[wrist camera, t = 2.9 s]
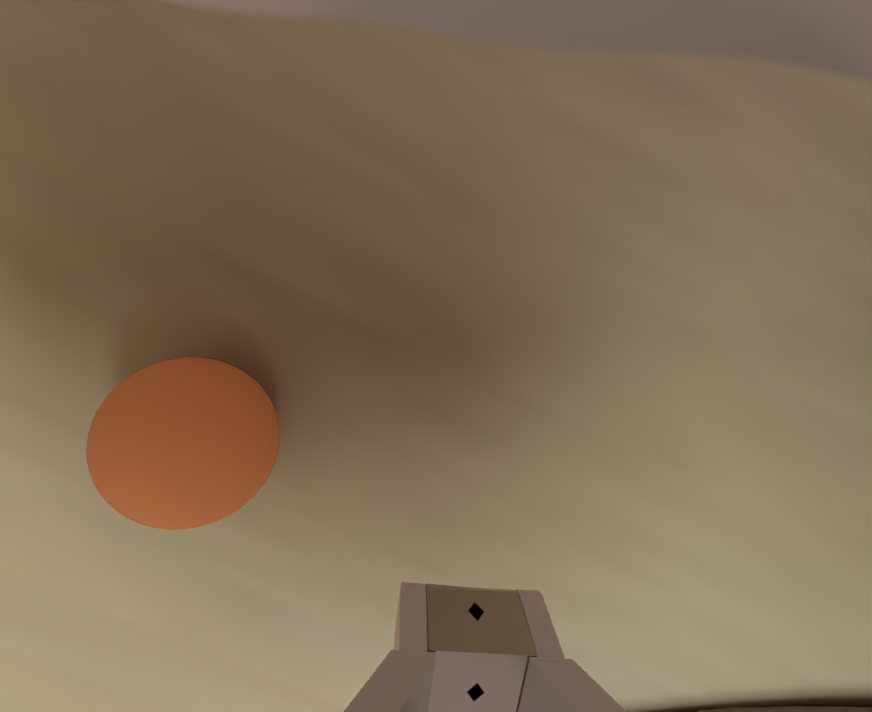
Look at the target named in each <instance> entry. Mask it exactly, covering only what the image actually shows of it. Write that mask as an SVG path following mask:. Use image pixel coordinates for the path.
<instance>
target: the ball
mask: <svg viewBox="0 0 872 712" xmlns="http://www.w3.org/2000/svg"><path fill="white" fill-rule="evenodd" d="M279 439H280V436H279V423H278V418H277V414H276V411H275V409H274V406H273V404H272V402H271V400H270V398H269V397H268V395H267V394H266V392H265V391H264V389H263V388H262V387H261V386H260V385H259V384H258V383H257V382H256V381H255V380H254V379H253V378H252V377H250V376H249V375H248V374H246V373H245V372H243V371H242V370H240V369H238V368H236V367H234V366H232V365H229V364H227V363H224V362H221V361H218V360H214V359H208V358H196V357H185V358H176V359H170V360H166V361H161V362H158V363H156V364H153V365H150V366H148V367H145V368H143V369H141V370H139V371H138V372H136V373H134V374H132V375H131V376H129V377H128V378H127V379H125V380H124V381H123V382H121V383H120V384H119V385H118V386H117V387H116V388H115V389H114V390H113V391H112V392H111V393H110V394H109V395H108V396H107V397H106V399H105V400H104V402H103V403H102V404H101V406H100V407H99V409H98V410H97V412H96V414H95V417H94V419H93V421H92V424H91V427H90V430H89V434H88V440H87V462H88V468H89V471H90V474H91V477H92V480H93V482H94V484H95V486H96V488H97V490H98V491H99V493H100V494H101V496H102V497H103V498H104V499H105V500H106V502H107V503H108V504H109V505H111V506H112V507H113V508H114V509H115V510H116V511H118V512H119V513H120V514H122V515H124V516H125V517H127V518H129V519H131V520H133V521H135V522H138V523H140V524H143V525H147V526H151V527H156V528H163V529H186V528H194V527H199V526H203V525H206V524H209V523H212V522H215V521H218V520H220V519H222V518H224V517H226V516H228V515H230V514H231V513H233V512H234V511H236V510H238V509H239V508H241V507H242V506H243V505H244V504H245V503H246V502H248V501H249V500H250V499H251V498H252V497H253V496H254V495H255V494H256V493H257V492H258V490H259V489H260V488H261V487H262V485H263V484H264V483H265V481H266V479H267V478H268V476H269V474H270V472H271V470H272V468H273V466H274V463H275V461H276V456H277V452H278V448H279Z"/></svg>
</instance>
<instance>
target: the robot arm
mask: <svg viewBox="0 0 872 712" xmlns="http://www.w3.org/2000/svg"><path fill="white" fill-rule="evenodd" d="M344 712H626V711H625V710H624V709H623V708H622V707H621V706H620V705H619V704H618V703H617V702H616V701H615V700H614V699H613V698H612V697H611V696H610V695H609V694H608V693H607V692H606V691H605V690H604V689H603V688H602V687H601V686H599V685H598V684H597V683H596V682H595V681H594V680H593V679H592V678H591V677H590V676H589V675H588V674H587V673H586V672H585V671H584V670H583V669H582V668H581V667H580V666H579V665H578V664H577V663H576V662H575V661H574V660H573V659H565V657H564V654H563V652H562V649H561V646H560V643H559V640H558V638H557V635H556V632H555V629H554V626H553V624H552V621H551V618H550V615H549V612H548V610H547V607H546V604H545V601H544V598H543V596H542V594H541V593H540V591H538V590H509V589H490V588H471V587H458V586H447V585H435V584H418V583H407V582H402V583H401V587H400V595H399V604H398V612H397V620H396V629H395V640H394V650H391V651H390V652H389V654H388V655H387V656H386V658H385V659H384V660H383V662H382V663H381V664H380V665H379V667H378V668H377V669H376V671H375V672H374V673H373V674H372V676H371V677H370V678H369V680H368V681H367V682H366V684H365V685H364V686H363V687H362V689H361V690H360V691H359V693H358V694H357V695H356V697H355V698H354V699H353V700H352V702H351V703H350V704H349V706H348V707H347V708H346V710H345V711H344Z"/></svg>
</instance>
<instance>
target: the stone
mask: <svg viewBox="0 0 872 712" xmlns="http://www.w3.org/2000/svg"><path fill="white" fill-rule="evenodd" d="M696 712H872V707H846V706H765V707H730V708H719V709H705V710H698V711H696Z"/></svg>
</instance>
